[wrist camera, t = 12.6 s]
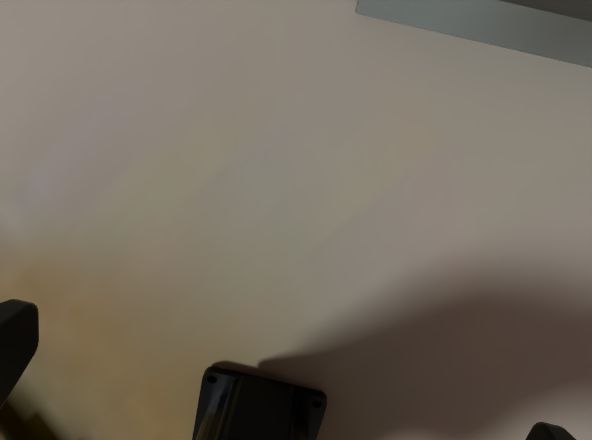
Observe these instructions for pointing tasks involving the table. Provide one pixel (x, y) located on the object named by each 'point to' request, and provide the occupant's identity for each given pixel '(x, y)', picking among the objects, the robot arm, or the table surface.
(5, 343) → the robot arm
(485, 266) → the table surface
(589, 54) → the tray
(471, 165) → the table surface
